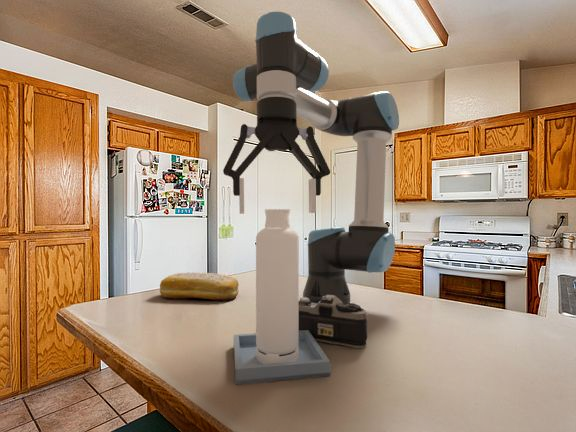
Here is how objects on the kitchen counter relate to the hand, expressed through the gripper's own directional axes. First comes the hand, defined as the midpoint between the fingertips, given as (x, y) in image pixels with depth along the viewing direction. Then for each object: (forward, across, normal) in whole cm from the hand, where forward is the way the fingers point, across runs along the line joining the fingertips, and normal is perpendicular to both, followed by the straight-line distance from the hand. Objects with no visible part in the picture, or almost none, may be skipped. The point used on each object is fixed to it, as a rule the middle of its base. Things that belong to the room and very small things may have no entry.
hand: (277, 213), depth 65 cm
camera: (+28, -14, -9) cm, 33 cm away
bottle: (+27, 0, 0) cm, 27 cm away
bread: (+29, +19, -53) cm, 63 cm away
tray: (+28, 0, 0) cm, 28 cm away
